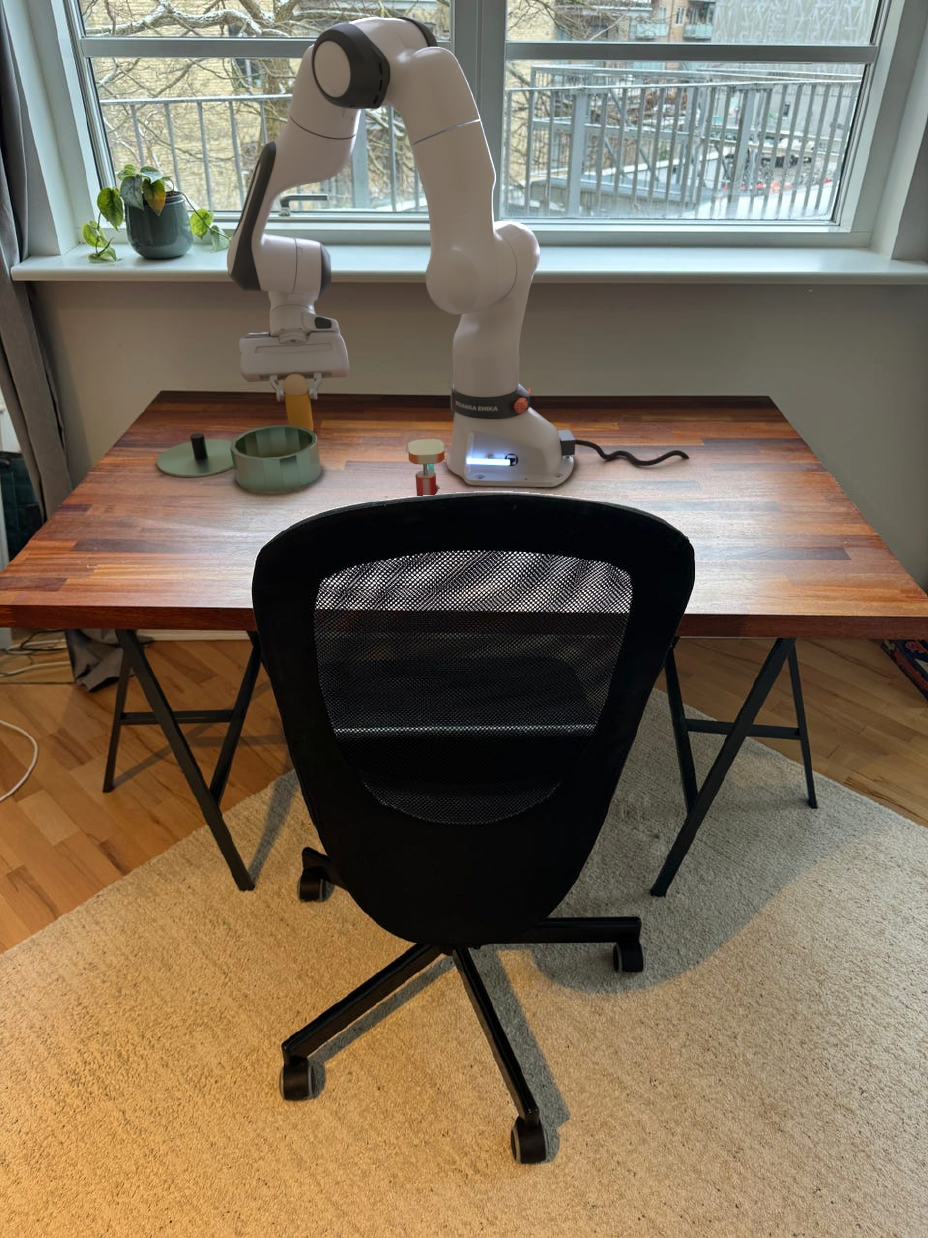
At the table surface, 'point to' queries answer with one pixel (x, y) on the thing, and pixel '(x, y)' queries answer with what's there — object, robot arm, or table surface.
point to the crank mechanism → (426, 454)
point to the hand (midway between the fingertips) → (297, 399)
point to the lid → (197, 457)
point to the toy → (298, 401)
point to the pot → (276, 458)
